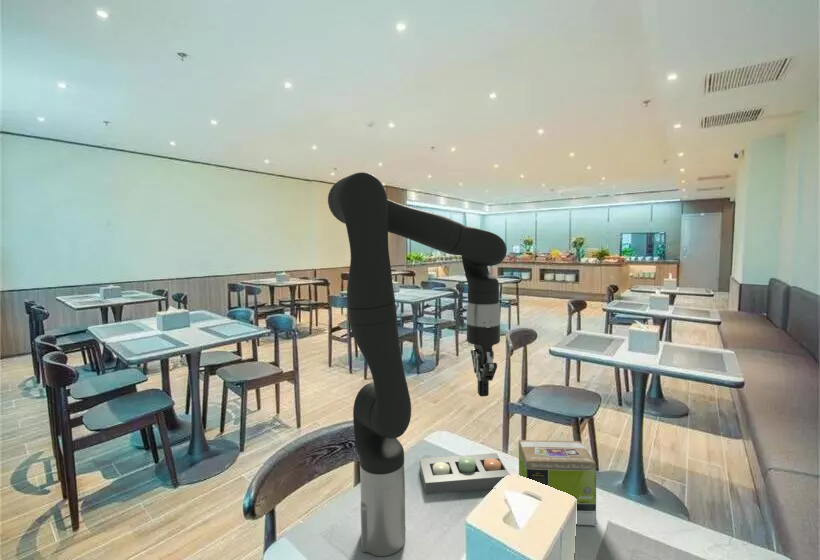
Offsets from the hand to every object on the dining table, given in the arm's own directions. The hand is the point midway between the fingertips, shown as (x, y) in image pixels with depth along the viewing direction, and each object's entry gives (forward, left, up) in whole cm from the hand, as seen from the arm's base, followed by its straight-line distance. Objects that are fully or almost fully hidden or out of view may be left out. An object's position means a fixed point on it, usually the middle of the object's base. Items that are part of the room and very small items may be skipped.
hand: (483, 395), depth 89 cm
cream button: (-8, +11, -25) cm, 29 cm away
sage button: (-1, +11, -24) cm, 26 cm away
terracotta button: (+6, +11, -25) cm, 28 cm away
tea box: (+16, -4, -27) cm, 32 cm away
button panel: (-2, +11, -27) cm, 29 cm away
